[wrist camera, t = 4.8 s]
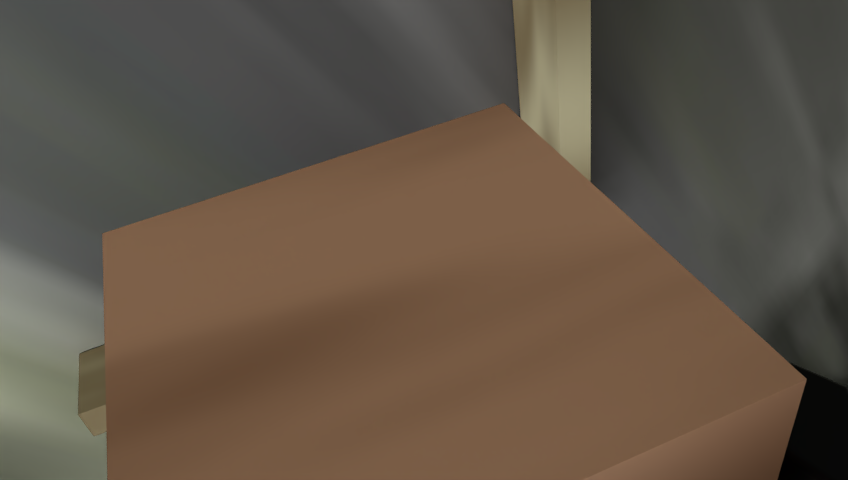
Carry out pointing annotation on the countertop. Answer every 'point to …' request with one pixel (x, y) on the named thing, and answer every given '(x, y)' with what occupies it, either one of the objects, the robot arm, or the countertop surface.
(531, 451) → the terracotta cube
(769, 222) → the countertop surface
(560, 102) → the open wooden frame
